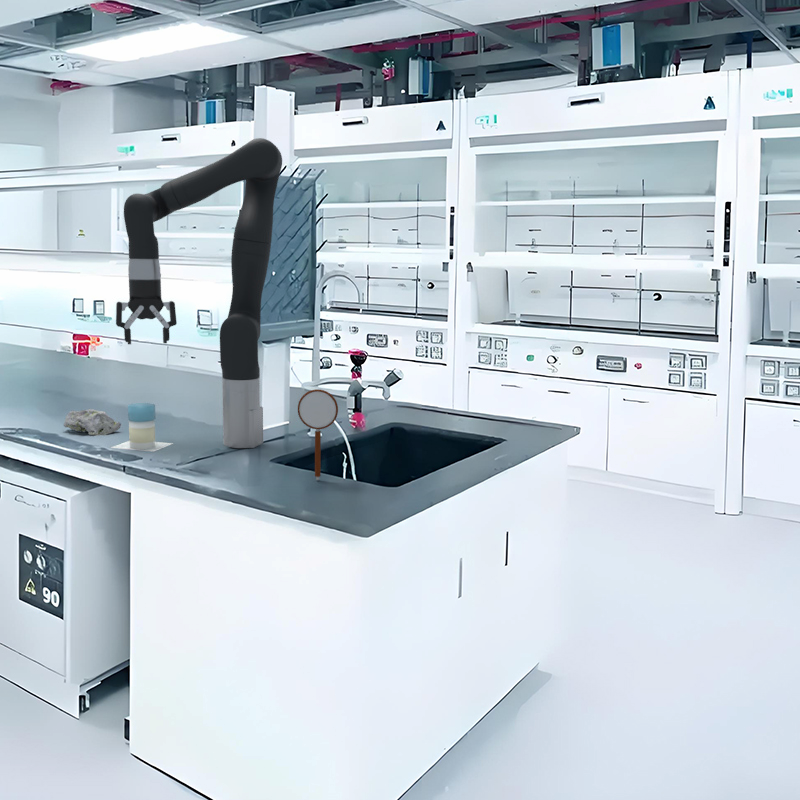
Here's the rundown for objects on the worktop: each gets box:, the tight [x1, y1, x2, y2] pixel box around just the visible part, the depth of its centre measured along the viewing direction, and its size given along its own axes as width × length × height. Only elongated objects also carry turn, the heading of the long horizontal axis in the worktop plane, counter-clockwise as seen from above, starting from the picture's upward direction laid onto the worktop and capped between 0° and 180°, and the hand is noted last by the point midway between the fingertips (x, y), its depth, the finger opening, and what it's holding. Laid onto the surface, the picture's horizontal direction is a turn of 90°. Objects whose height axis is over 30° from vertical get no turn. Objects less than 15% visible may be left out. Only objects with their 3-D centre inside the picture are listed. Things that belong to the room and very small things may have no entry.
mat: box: [110, 440, 174, 453], centre depth 214 cm, size 12×9×1 cm
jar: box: [128, 420, 156, 451], centre depth 211 cm, size 6×6×7 cm
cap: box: [127, 402, 156, 422], centre depth 211 cm, size 6×6×4 cm
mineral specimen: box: [63, 408, 122, 437], centre depth 228 cm, size 16×7×7 cm, turn 72°
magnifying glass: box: [297, 389, 339, 482], centre depth 184 cm, size 9×2×20 cm, turn 89°
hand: (147, 343), depth 213 cm, fingers open, 8 cm apart
